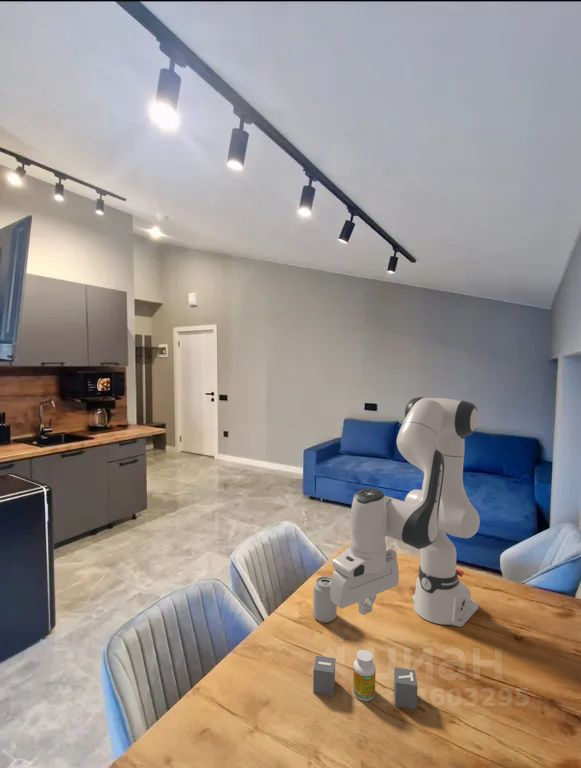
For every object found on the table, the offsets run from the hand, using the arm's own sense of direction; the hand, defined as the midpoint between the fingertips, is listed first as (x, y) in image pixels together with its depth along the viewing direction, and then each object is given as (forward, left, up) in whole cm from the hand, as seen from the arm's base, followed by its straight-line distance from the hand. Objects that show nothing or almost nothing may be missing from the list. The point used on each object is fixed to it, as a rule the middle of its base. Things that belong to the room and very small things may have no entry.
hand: (365, 612), depth 101 cm
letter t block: (-7, +7, -21) cm, 23 cm away
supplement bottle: (0, 0, -21) cm, 21 cm away
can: (-11, -29, -21) cm, 38 cm away
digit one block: (+7, -7, -21) cm, 23 cm away
